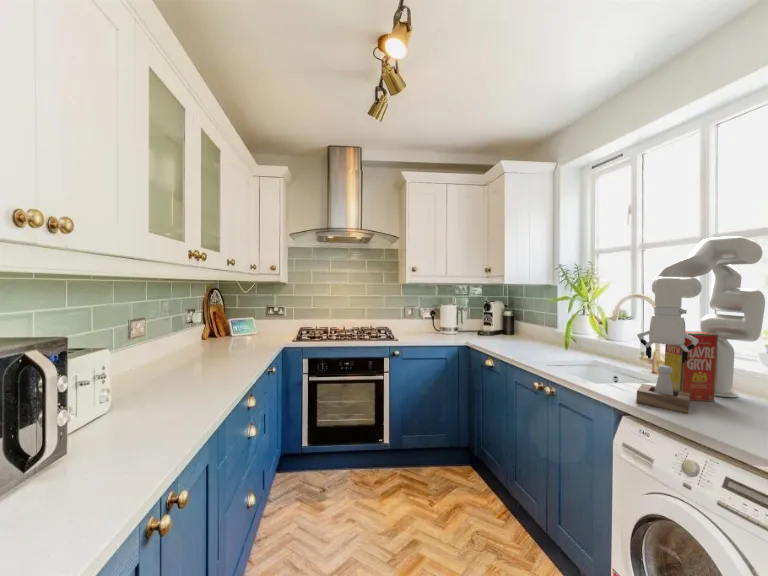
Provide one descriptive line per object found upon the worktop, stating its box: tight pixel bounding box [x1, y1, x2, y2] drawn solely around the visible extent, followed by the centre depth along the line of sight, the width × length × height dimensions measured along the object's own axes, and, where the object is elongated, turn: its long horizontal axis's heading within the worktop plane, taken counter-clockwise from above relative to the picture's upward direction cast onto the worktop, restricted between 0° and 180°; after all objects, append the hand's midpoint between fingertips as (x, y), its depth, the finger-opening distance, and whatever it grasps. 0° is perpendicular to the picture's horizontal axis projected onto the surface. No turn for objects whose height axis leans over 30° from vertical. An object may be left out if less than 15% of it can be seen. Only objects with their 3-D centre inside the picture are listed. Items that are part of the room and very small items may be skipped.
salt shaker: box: [654, 365, 674, 396], centre depth 131 cm, size 6×6×13 cm
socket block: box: [636, 383, 691, 415], centre depth 131 cm, size 14×14×5 cm
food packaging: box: [664, 330, 718, 402], centre depth 140 cm, size 13×9×25 cm
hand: (666, 360), depth 131 cm, fingers open, 9 cm apart
